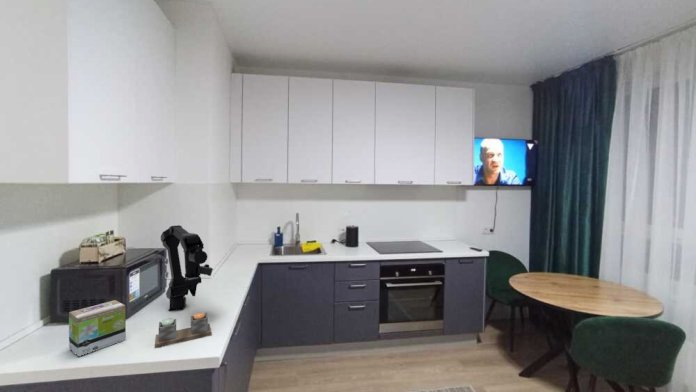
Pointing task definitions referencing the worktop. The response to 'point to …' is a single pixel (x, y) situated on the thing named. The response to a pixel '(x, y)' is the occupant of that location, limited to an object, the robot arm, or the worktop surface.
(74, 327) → the tea box
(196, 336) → the button board
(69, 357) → the worktop surface
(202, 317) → the terracotta button
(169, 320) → the sage button
